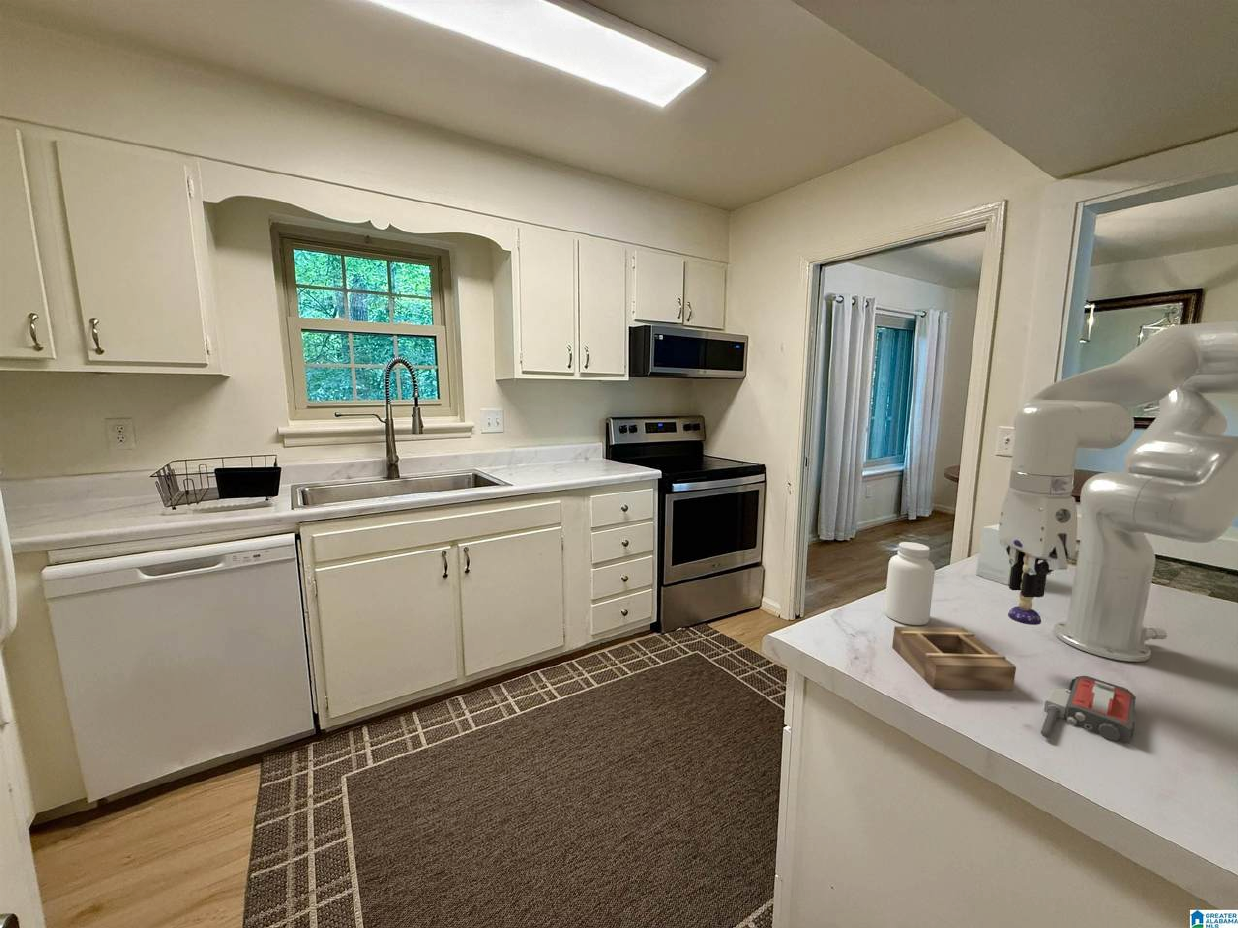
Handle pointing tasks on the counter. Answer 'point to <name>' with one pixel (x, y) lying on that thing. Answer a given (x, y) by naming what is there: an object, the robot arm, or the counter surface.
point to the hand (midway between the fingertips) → (1025, 592)
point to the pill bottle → (910, 585)
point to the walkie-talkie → (1092, 708)
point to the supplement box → (993, 557)
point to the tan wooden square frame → (953, 659)
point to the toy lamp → (1024, 601)
